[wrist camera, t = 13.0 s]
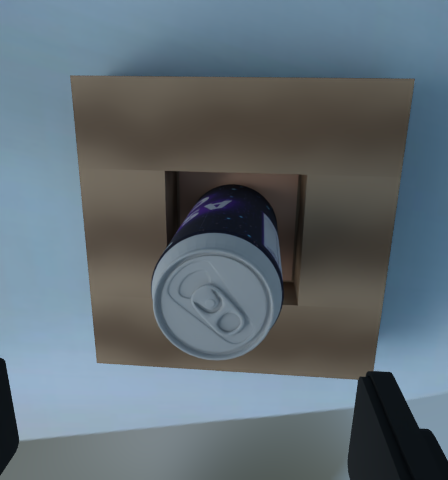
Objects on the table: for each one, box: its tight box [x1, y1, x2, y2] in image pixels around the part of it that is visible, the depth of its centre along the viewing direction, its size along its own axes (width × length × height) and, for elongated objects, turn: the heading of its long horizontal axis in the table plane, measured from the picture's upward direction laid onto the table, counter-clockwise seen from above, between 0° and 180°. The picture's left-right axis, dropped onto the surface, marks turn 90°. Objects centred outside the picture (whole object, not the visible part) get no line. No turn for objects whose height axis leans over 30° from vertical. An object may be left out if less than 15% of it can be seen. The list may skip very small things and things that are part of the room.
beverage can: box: [151, 184, 284, 360], centre depth 23 cm, size 6×6×12 cm
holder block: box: [70, 76, 415, 380], centre depth 27 cm, size 18×18×4 cm
